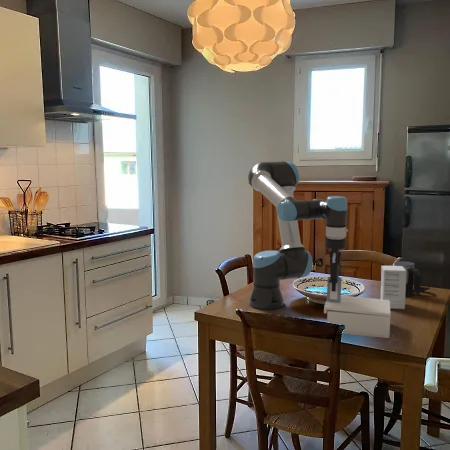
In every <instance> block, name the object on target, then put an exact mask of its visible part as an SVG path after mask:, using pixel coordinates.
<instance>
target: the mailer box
mask: <svg viewBox="0 0 450 450" xmlns="http://www.w3.org/2000/svg"><path fill="white" fill-rule="evenodd" d="M326 315H327V316H326V323H327V322H329V323H334V324H343V325H345V329H344V331H343V333H342V334H343V335H344V334H345V335H355V336H363V337H365V336H366V337H374V338H376V337H377V338H385V339H390V336H391V335H390V331H391V315H390V316H382V315H372V314H363V313H354V312H344V311H335V310H327V313H326Z"/></svg>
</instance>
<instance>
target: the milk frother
mask: <svg viewBox="0 0 450 450" xmlns="http://www.w3.org/2000/svg"><path fill="white" fill-rule="evenodd" d="M393 266H403V267H404V269H405V270H406V291H405V297H413V296H414V294H418V293H423V292H426V291H429V290H430V289H431V287H430V286H421V285H422V273H421V271H420V270H419V269H417V268H416V267H415V263H414V262H412V261H395V262H393Z"/></svg>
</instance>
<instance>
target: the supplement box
mask: <svg viewBox="0 0 450 450" xmlns="http://www.w3.org/2000/svg"><path fill="white" fill-rule="evenodd" d="M380 270H381V271H380V273H381V274H380V278H381V279H380V297H379V299H383V300H389V301H390V309H392V310H393V309H395V310H396V309H397V310H405V308H406V296H405V291H406V270H405V269H404V267H403V266H394V265H381V266H380Z"/></svg>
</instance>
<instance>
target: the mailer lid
mask: <svg viewBox="0 0 450 450" xmlns="http://www.w3.org/2000/svg"><path fill="white" fill-rule="evenodd" d="M328 281H330V276H328V277H327V281H326V282H327V284H326V286H327V287H326V301H325V303H324V306H323V307H324V308H323V314H327V311H328V310H335V311H344V312H354V313H363V314H372V315H382V316H390V317H391V315H392V314H391V308H390V301H389V300H383V299H380V298H372V297H371V298H370V297H361V296H350V295H343V294H342V281H343V278H342V277H341V278H337V281H338V292H337V300H336V299H330V283H329V282H328Z"/></svg>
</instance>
